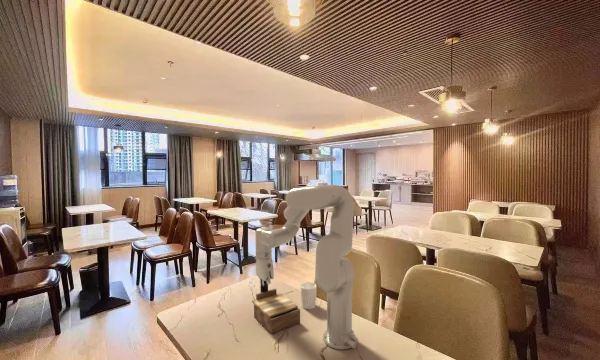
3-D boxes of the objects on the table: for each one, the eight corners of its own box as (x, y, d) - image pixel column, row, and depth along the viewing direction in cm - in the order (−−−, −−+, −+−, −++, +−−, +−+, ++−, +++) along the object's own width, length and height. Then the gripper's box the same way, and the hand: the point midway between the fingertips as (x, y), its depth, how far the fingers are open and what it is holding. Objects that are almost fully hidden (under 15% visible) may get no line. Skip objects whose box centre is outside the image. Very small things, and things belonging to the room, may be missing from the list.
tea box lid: (297, 307, 117) (297, 300, 117) (269, 317, 109) (269, 310, 109) (278, 294, 130) (278, 287, 130) (252, 302, 122) (252, 295, 122)
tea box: (300, 323, 116) (300, 309, 116) (271, 334, 108) (271, 320, 107) (281, 308, 129) (280, 295, 129) (254, 317, 121) (253, 304, 121)
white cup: (317, 310, 127) (316, 289, 126) (300, 310, 127) (300, 289, 127) (316, 301, 135) (316, 282, 134) (300, 301, 135) (300, 282, 134)
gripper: (278, 256, 123) (279, 296, 123) (263, 249, 135) (264, 285, 136) (264, 260, 119) (264, 301, 119) (249, 252, 131) (250, 289, 131)
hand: (264, 292), depth 127 cm, fingers closed
